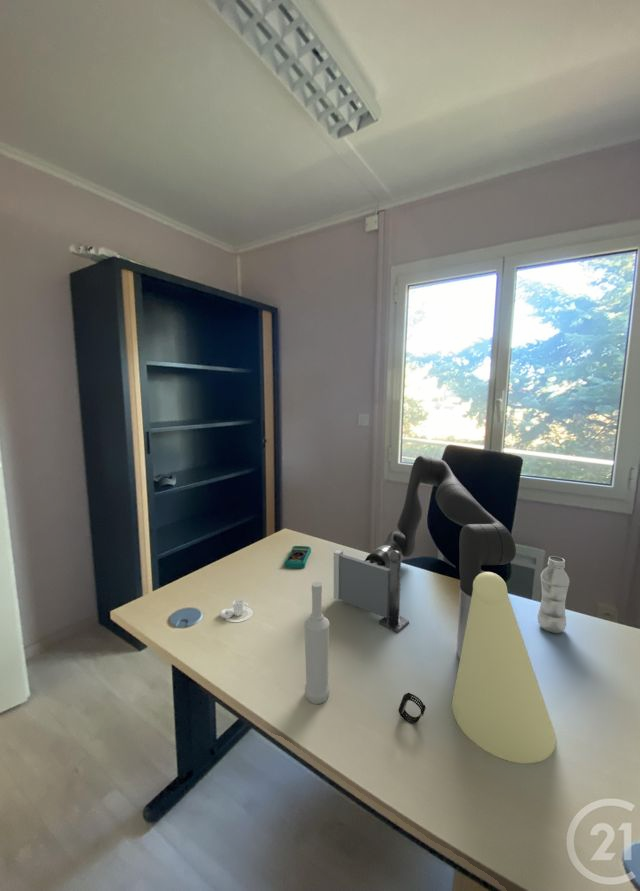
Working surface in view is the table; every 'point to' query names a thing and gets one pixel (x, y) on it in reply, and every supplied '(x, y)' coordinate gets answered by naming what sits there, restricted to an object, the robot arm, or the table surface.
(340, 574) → the gate
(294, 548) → the digital multimeter
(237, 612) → the teacup and saucer
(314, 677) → the bottle
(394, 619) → the gate post
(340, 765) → the table surface
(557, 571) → the plastic bottle
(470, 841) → the table surface
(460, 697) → the cone light
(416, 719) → the smartwatch
